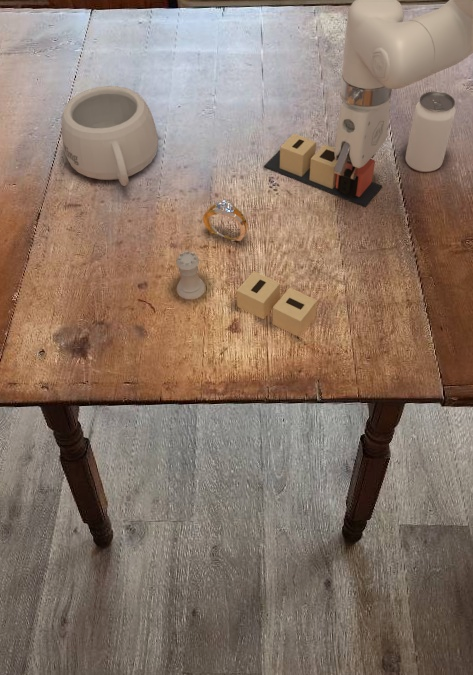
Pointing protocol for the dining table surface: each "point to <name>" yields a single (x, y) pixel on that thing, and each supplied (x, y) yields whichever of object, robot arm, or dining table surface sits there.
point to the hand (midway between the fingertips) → (354, 184)
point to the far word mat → (335, 192)
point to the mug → (109, 133)
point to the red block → (362, 176)
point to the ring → (227, 210)
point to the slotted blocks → (276, 303)
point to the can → (430, 131)
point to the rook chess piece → (189, 276)
